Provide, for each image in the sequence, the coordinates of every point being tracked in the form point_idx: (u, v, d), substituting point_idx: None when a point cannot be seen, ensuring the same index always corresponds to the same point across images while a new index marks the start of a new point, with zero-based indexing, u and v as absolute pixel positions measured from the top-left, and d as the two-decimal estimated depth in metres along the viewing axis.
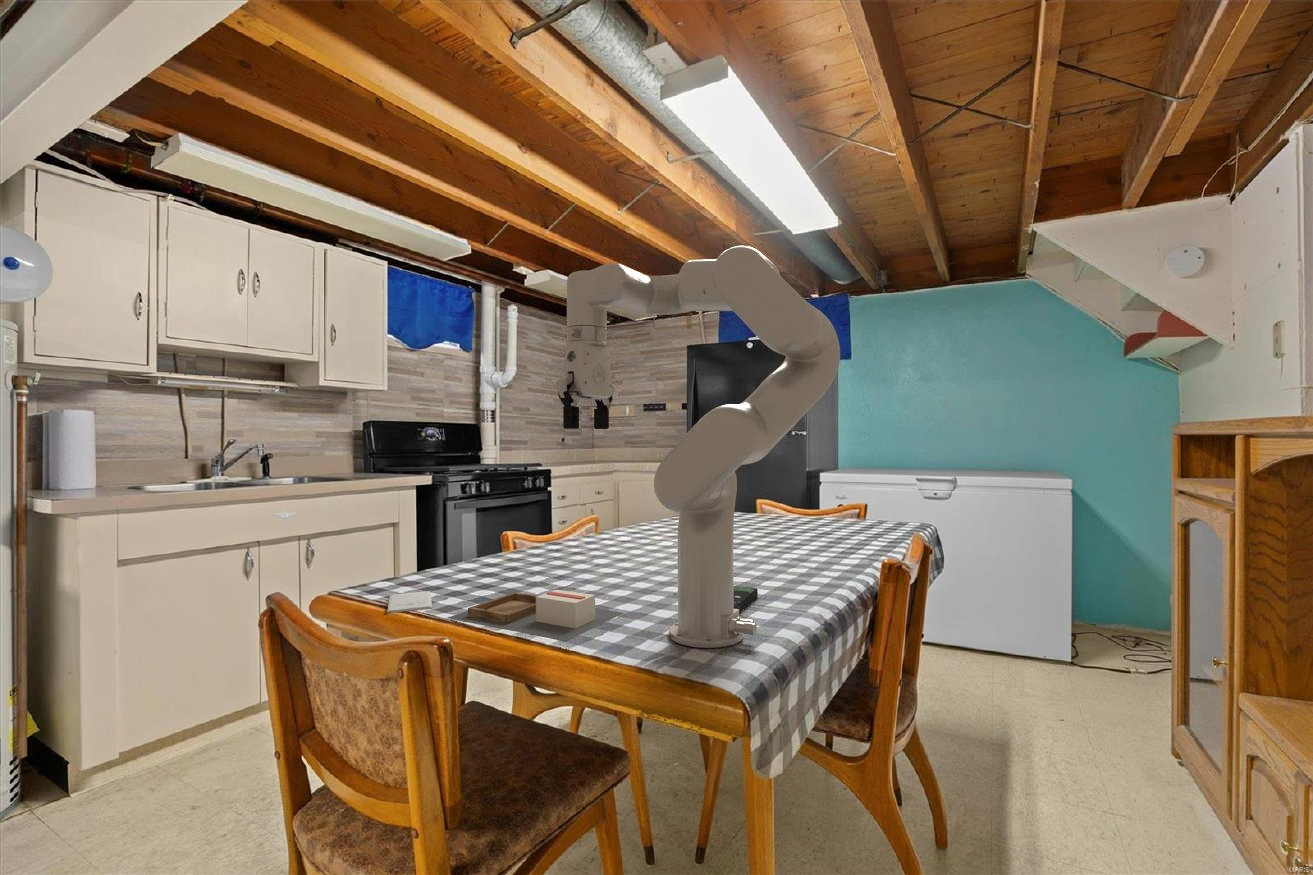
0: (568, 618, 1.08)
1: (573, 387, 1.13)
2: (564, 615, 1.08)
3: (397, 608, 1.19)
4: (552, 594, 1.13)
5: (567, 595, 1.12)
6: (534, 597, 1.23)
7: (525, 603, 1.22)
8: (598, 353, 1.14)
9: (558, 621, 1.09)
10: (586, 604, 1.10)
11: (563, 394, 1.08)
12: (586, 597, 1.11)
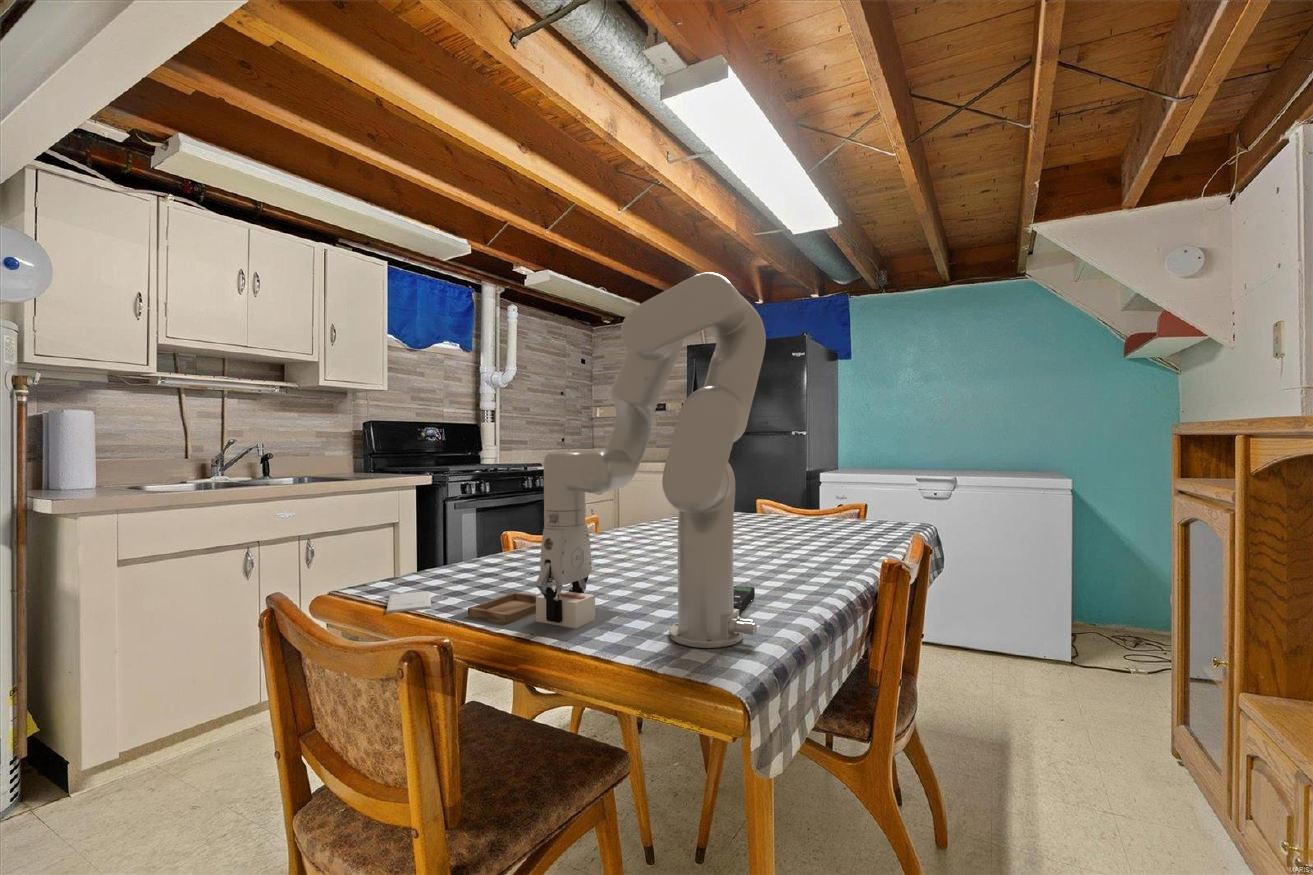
0: (568, 618, 1.08)
1: (552, 574, 1.10)
2: (564, 615, 1.08)
3: (396, 608, 1.19)
4: None
5: (567, 595, 1.12)
6: (534, 597, 1.23)
7: (525, 603, 1.22)
8: (577, 536, 1.11)
9: None
10: (586, 604, 1.10)
11: (545, 591, 1.06)
12: (586, 597, 1.11)
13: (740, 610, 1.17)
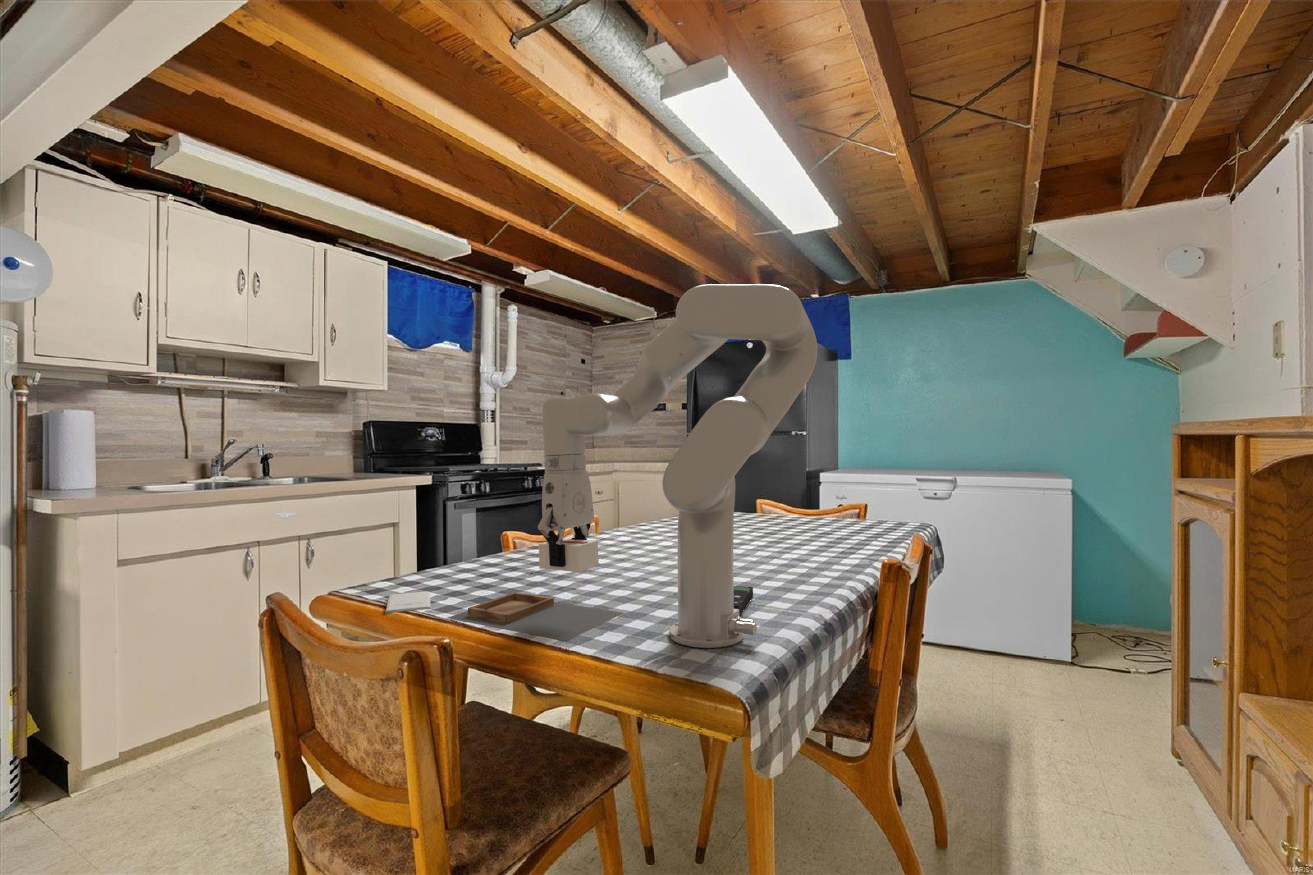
0: (571, 562, 1.08)
1: (554, 519, 1.10)
2: (567, 559, 1.08)
3: (395, 608, 1.19)
4: None
5: (570, 541, 1.11)
6: (534, 597, 1.23)
7: (525, 603, 1.22)
8: (578, 481, 1.10)
9: None
10: (589, 549, 1.10)
11: (548, 534, 1.06)
12: (589, 542, 1.11)
13: (741, 610, 1.17)
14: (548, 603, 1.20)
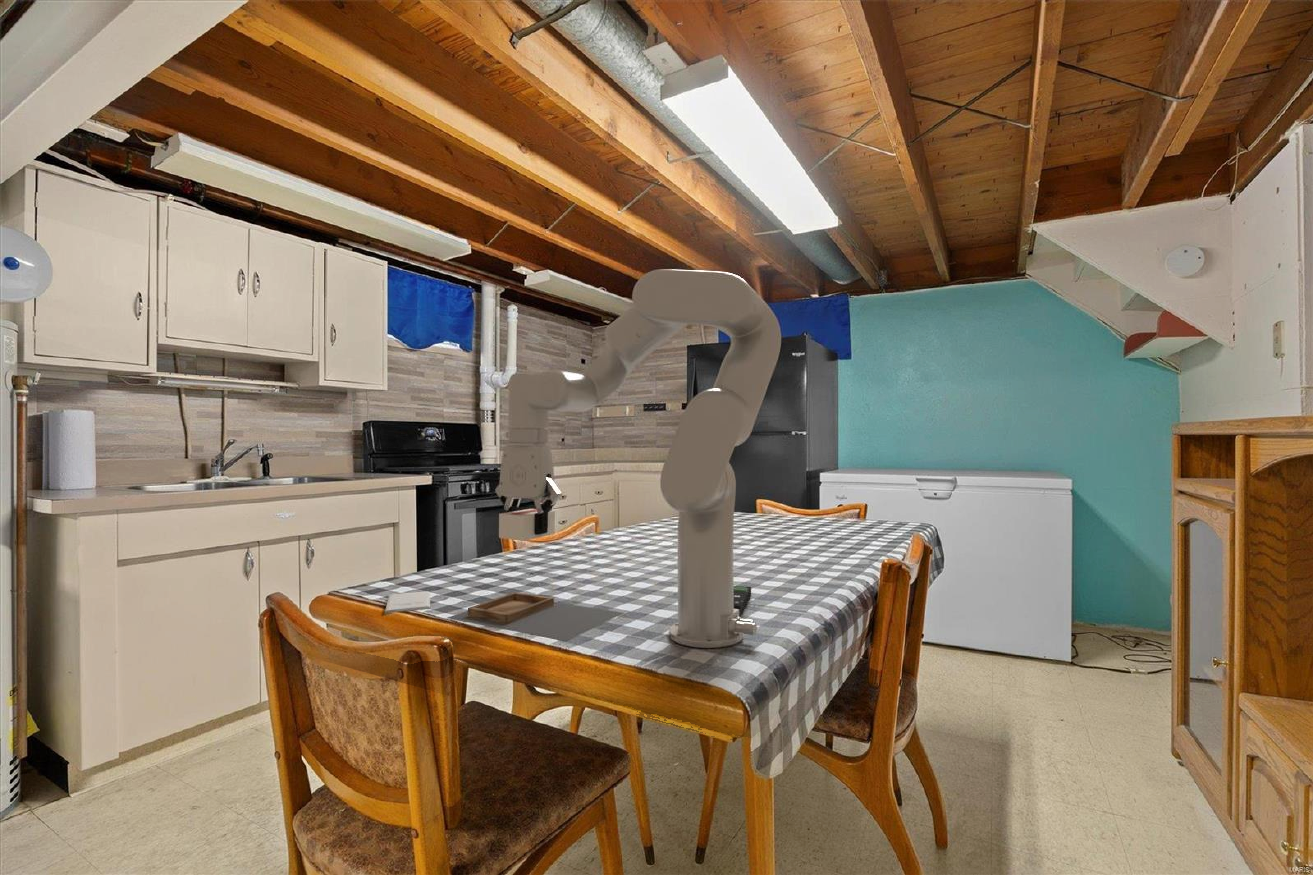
0: None
1: None
2: None
3: (394, 608, 1.19)
4: (534, 510, 1.19)
5: (525, 511, 1.16)
6: (534, 597, 1.23)
7: (525, 603, 1.22)
8: (518, 454, 1.14)
9: None
10: (512, 521, 1.12)
11: None
12: (517, 515, 1.12)
13: (742, 610, 1.17)
14: (548, 603, 1.20)
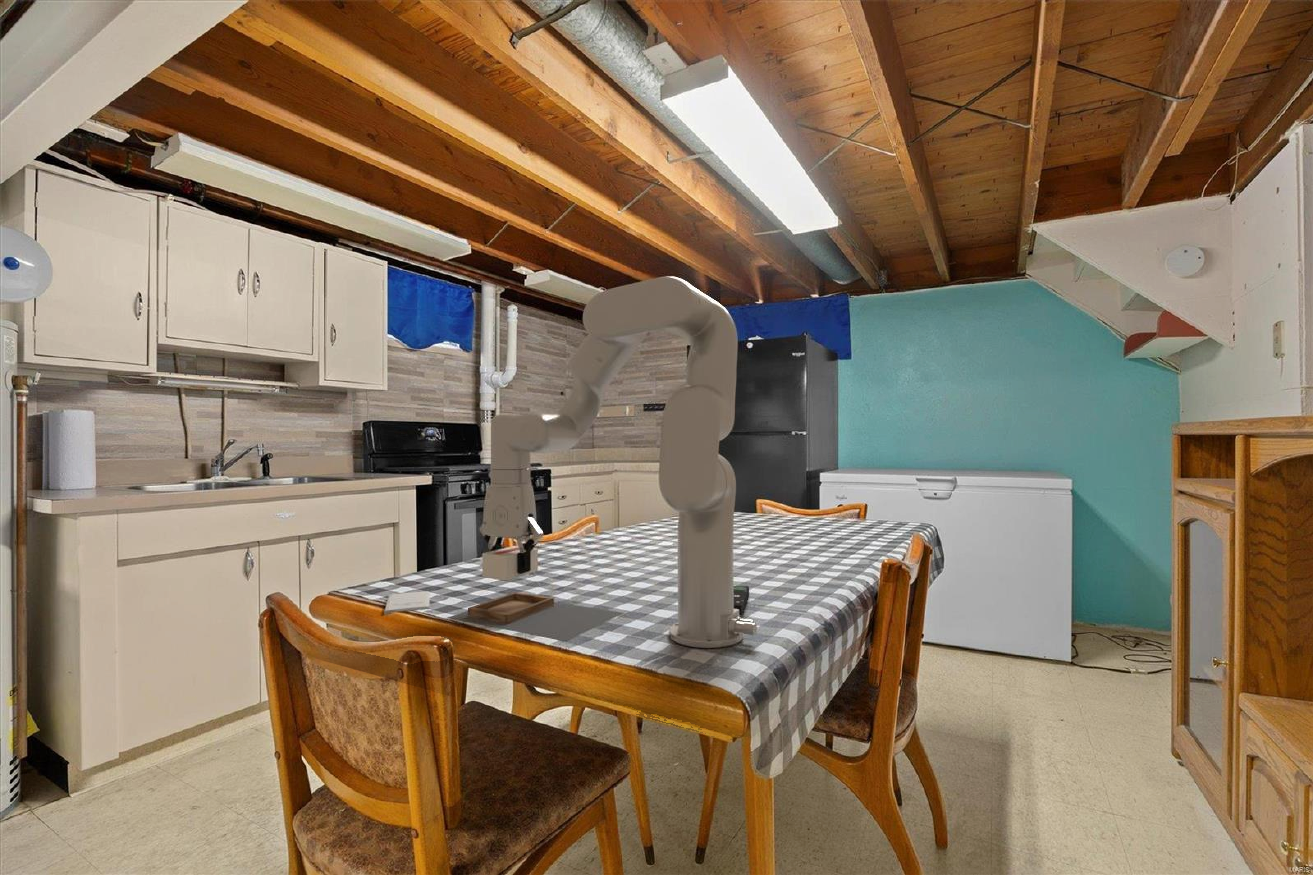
0: None
1: None
2: None
3: (394, 608, 1.19)
4: (517, 547, 1.21)
5: (508, 550, 1.18)
6: (534, 597, 1.23)
7: (525, 603, 1.22)
8: (500, 495, 1.16)
9: None
10: (494, 560, 1.14)
11: None
12: (499, 554, 1.14)
13: (743, 609, 1.17)
14: (548, 603, 1.20)
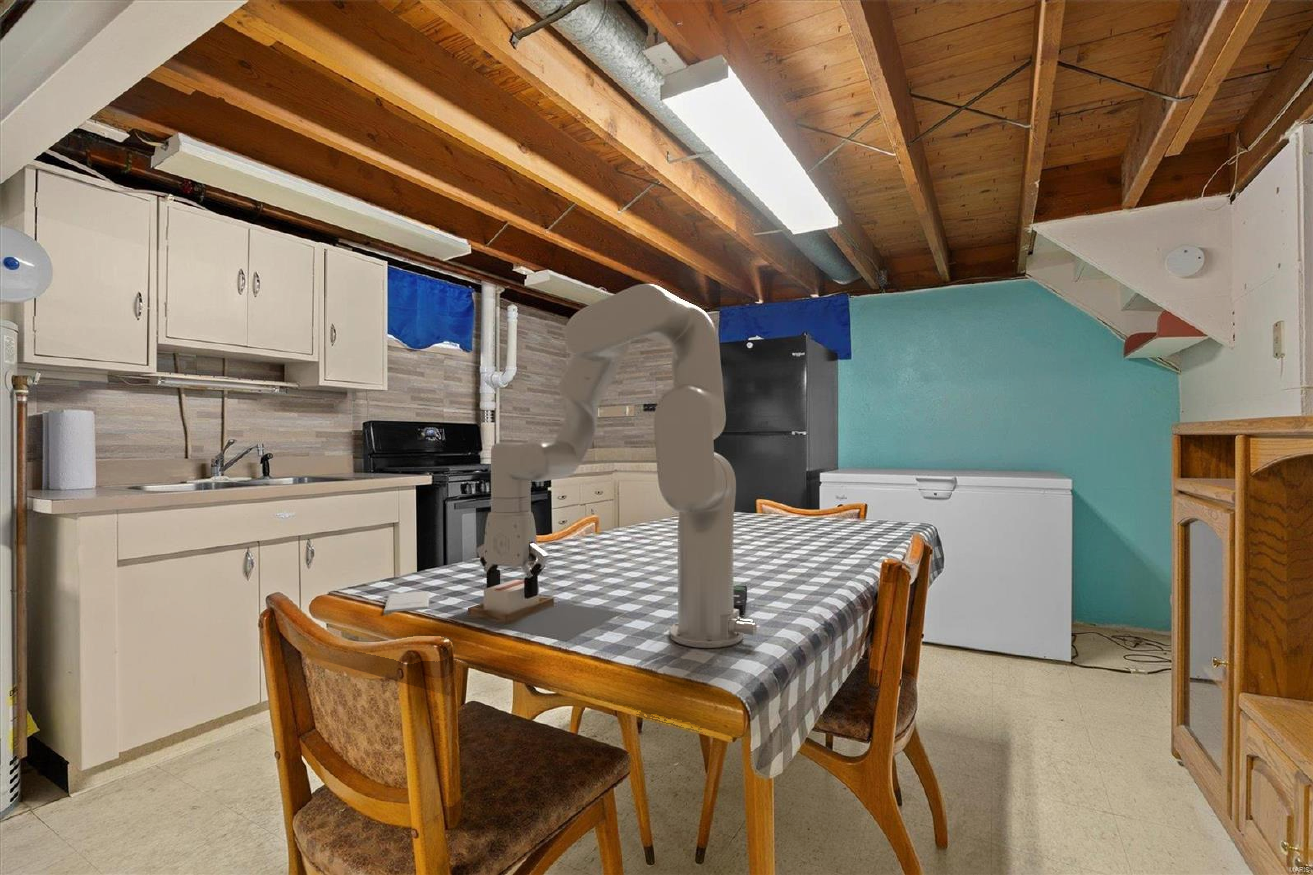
0: None
1: None
2: None
3: (393, 608, 1.19)
4: (518, 582, 1.21)
5: (509, 585, 1.18)
6: None
7: None
8: (501, 523, 1.16)
9: None
10: (496, 597, 1.14)
11: None
12: (500, 591, 1.14)
13: (744, 609, 1.17)
14: (548, 603, 1.20)
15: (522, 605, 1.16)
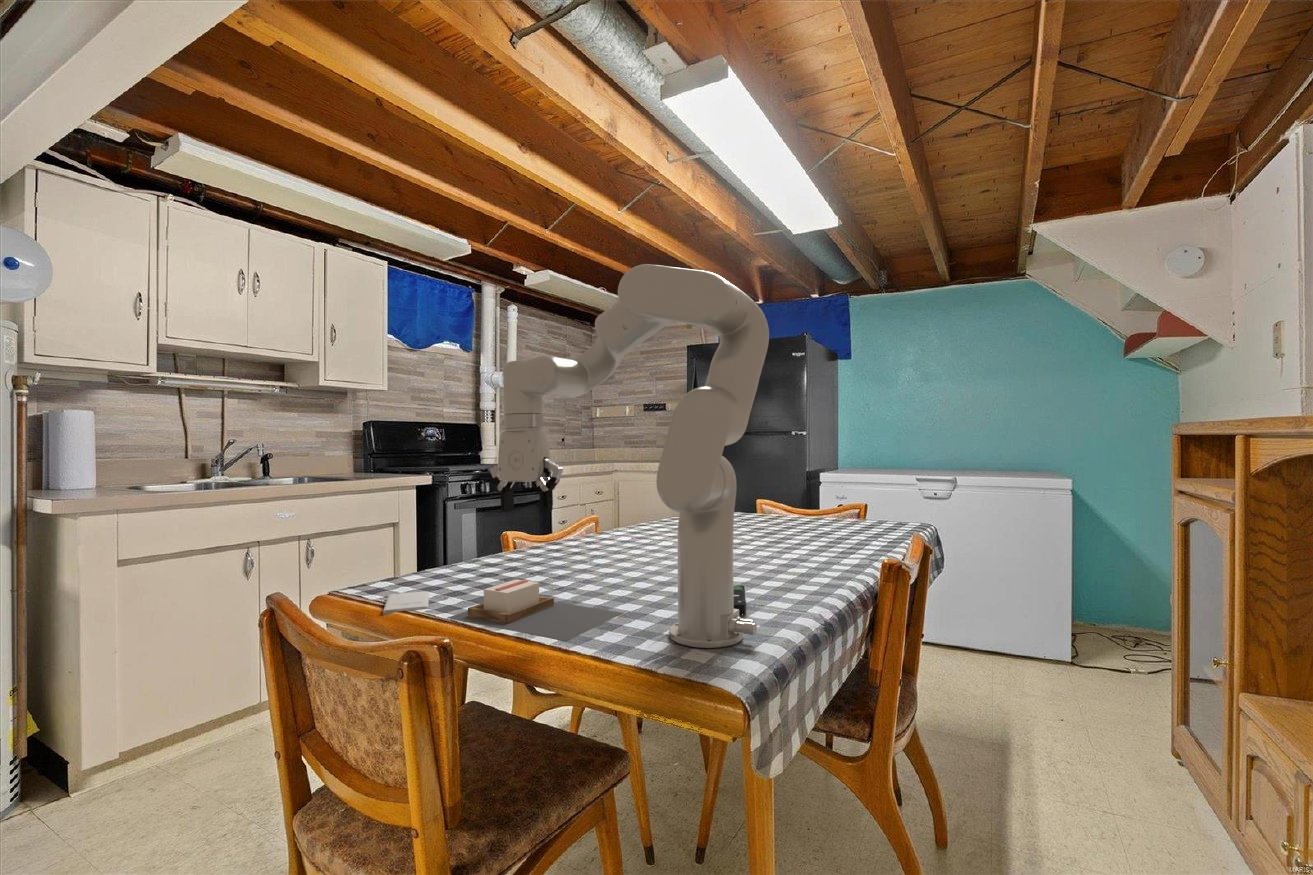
0: None
1: None
2: None
3: (393, 608, 1.19)
4: (518, 582, 1.21)
5: (509, 585, 1.18)
6: None
7: None
8: (515, 439, 1.17)
9: None
10: (496, 597, 1.14)
11: None
12: (500, 591, 1.14)
13: None
14: (548, 603, 1.20)
15: (522, 605, 1.16)
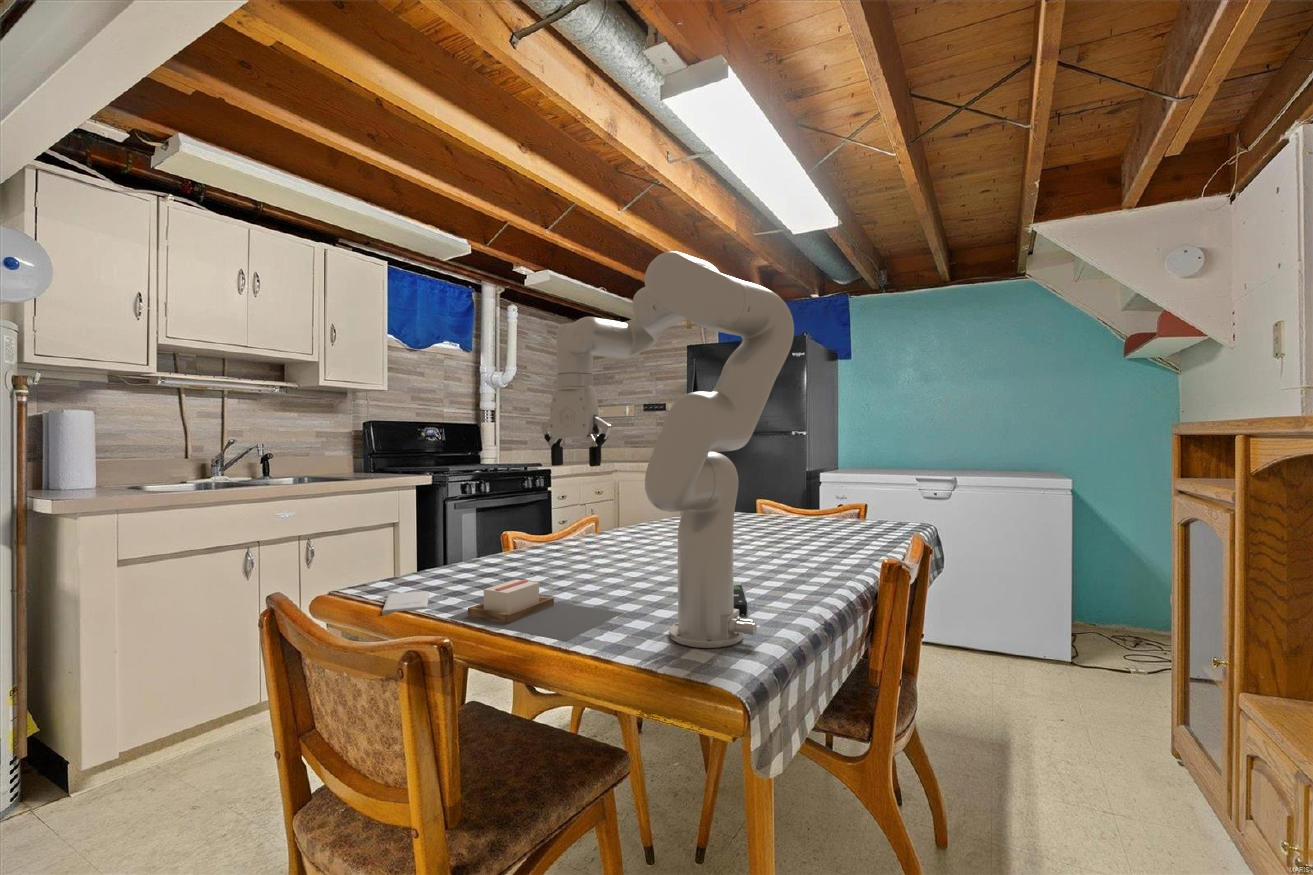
0: None
1: None
2: None
3: (392, 608, 1.19)
4: (518, 582, 1.21)
5: (509, 585, 1.18)
6: None
7: None
8: (567, 397, 1.24)
9: None
10: (496, 597, 1.14)
11: None
12: (500, 591, 1.14)
13: None
14: (548, 603, 1.20)
15: (522, 605, 1.16)
